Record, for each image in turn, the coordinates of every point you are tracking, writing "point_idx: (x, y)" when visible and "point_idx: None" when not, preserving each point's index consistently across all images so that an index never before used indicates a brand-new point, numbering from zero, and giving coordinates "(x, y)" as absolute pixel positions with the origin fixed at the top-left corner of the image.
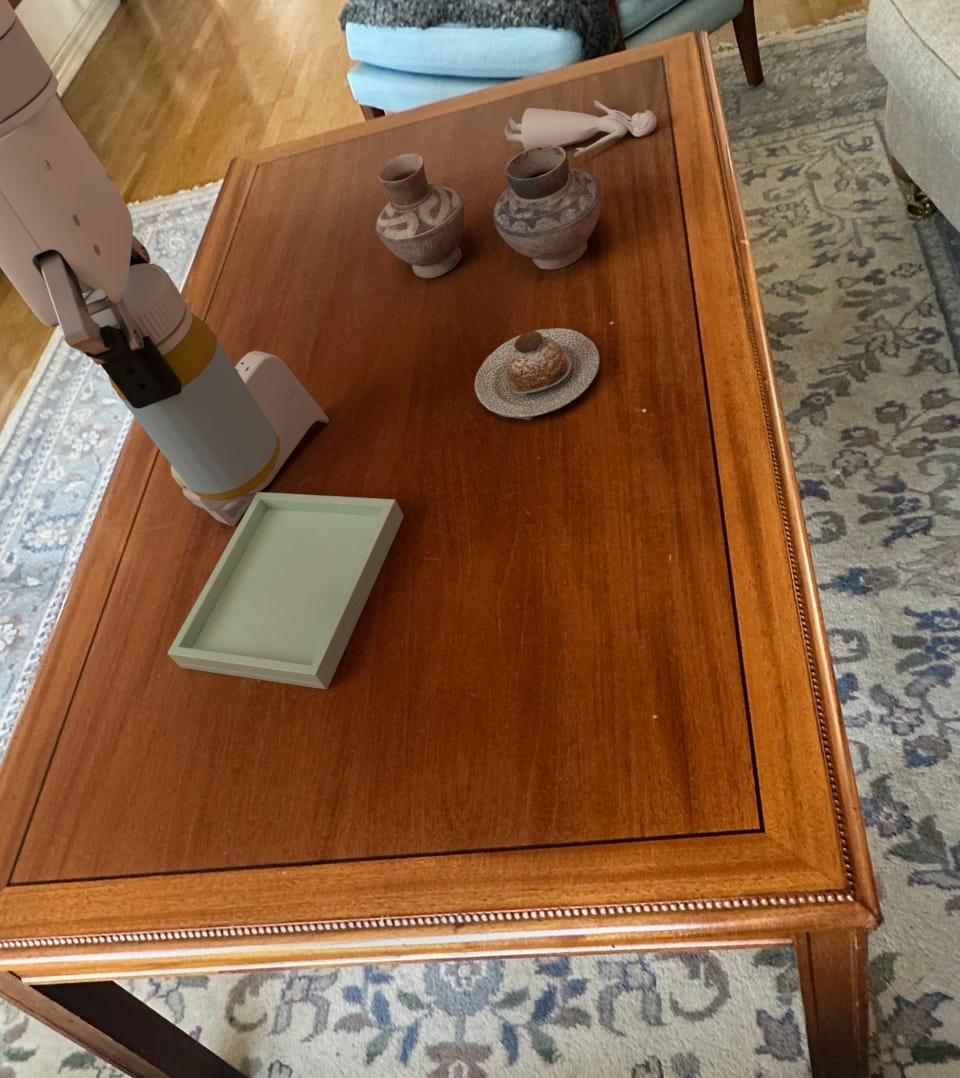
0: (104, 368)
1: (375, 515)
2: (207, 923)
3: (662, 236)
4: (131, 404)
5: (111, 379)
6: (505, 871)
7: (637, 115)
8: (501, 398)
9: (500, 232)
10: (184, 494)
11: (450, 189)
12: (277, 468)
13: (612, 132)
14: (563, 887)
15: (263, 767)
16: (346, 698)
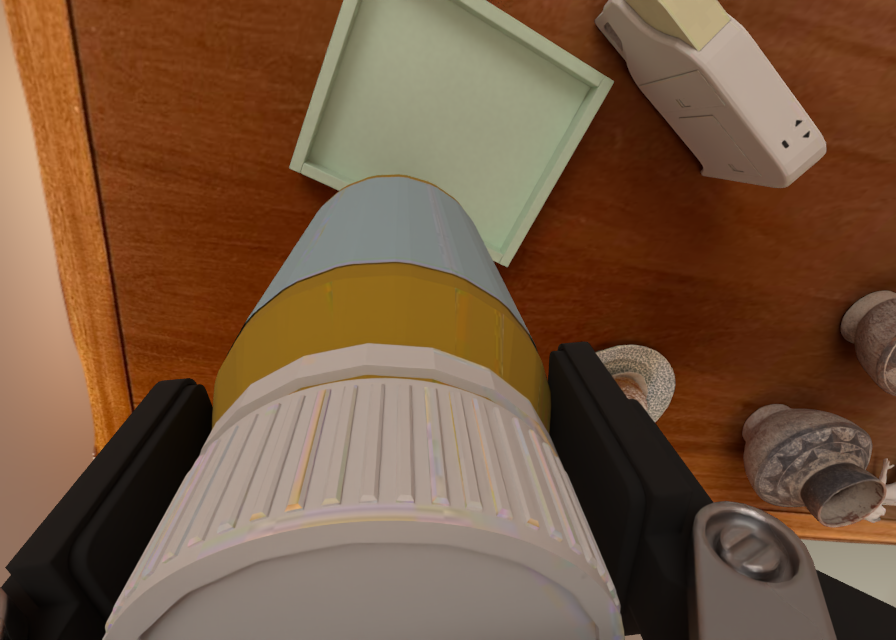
0: (49, 520)
1: (509, 233)
2: (3, 5)
3: (714, 492)
4: (155, 387)
5: (274, 330)
6: (98, 314)
7: (880, 513)
8: (603, 363)
9: (810, 423)
10: None
11: None
12: (654, 104)
13: (886, 487)
14: (89, 352)
15: (203, 80)
16: (282, 184)
